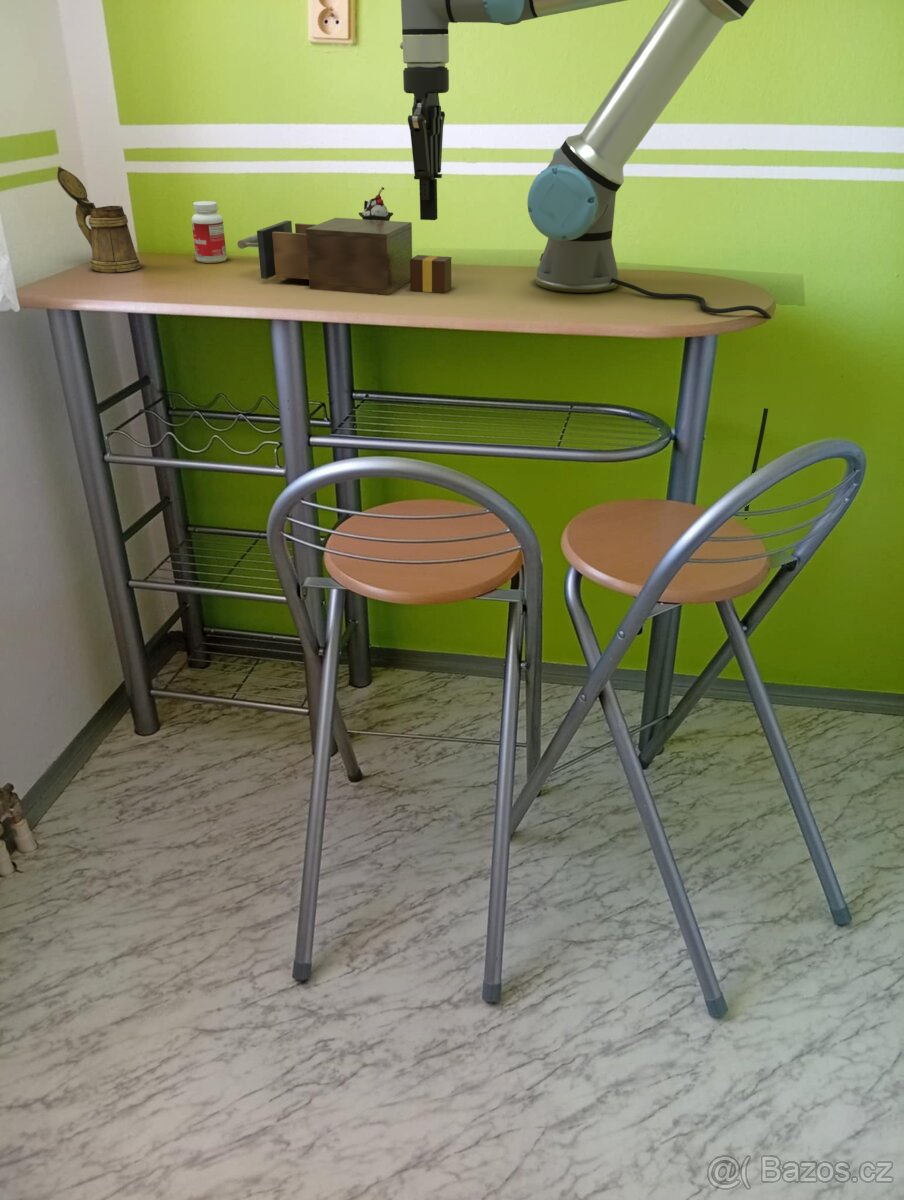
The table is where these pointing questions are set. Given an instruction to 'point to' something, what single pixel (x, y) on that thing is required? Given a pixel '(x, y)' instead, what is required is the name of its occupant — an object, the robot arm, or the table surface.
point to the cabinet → (359, 255)
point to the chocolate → (430, 273)
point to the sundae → (375, 209)
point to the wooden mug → (102, 229)
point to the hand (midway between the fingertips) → (428, 219)
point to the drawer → (281, 250)
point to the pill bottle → (208, 233)
